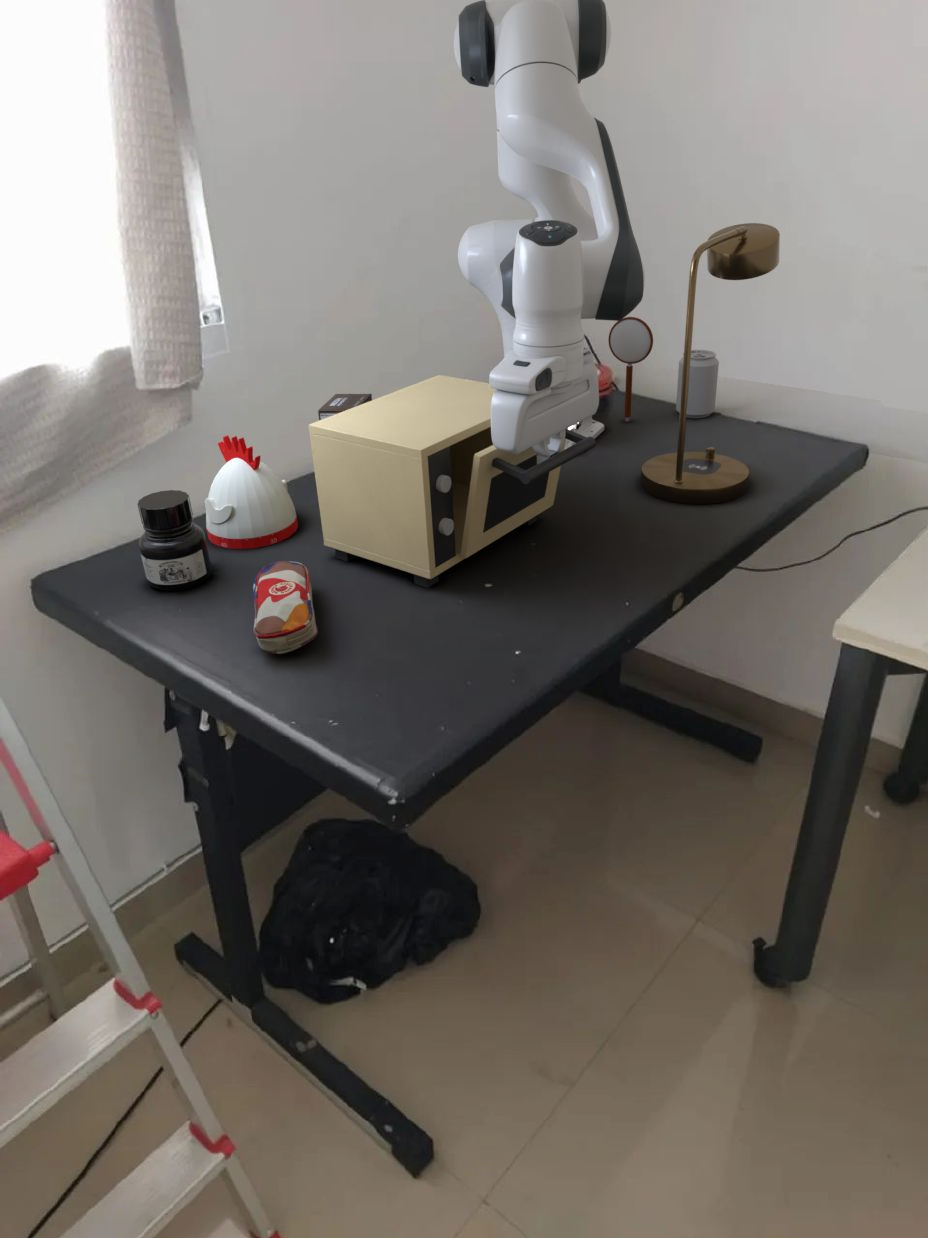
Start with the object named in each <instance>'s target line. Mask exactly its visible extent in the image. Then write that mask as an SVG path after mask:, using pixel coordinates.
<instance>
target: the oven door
mask: <svg viewBox="0 0 928 1238" xmlns="http://www.w3.org/2000/svg"><path fill="white" fill-rule="evenodd" d="M566 439H568V440H570V441H573V442H575V443H576V444H574V445H572V446H570V447H568V448H567V449H565V450H564V448H565V443H566ZM595 446H596V438H595V439H594V438H593V437H590V436H589V437H585V436H582V435H580V434H578V433H575V432H573V431H571V430H568V428H567V429H565V439H564V441H563V444H562V447H561V450H560V452H559V453H557V454H556V455H554V456H552V457H550V458H548V459H546V460H545V461H543V462H541V463H539V464H537V455H536V453H535V451H534V449H533V447H531V448H529V449H527V450H525V451H523V452H521V453H519V454H510V453H505V452H501V451H498V450H497V449H496V448H495V446H494V445H492V446H490V447H488V448H486V449H484V450H482V451H480V452H478V453H476V454H474V460H473V467H472V474H471V482H470V489H469V496H468V504H467V511H466V518H465V525H464V533H463V540H462V547H461V556H462V557H464V558H465V559H467V558H469V557H471V556H473V555H474V554H476V553H477V552H479V551H480V550H482V549H484V548H485V547H488V546H490V544H492V543H494V542H495V541H497V540H499V539H500V538H502V537H504V536H505V535H507V534H508V533H510V532H512V531H513V530H515V529H516V528H519V527H520V526H522V525H523V523H525V522H526V521H528V520H530V519H531V518H533V517H535V516H536V515H537V516H538V515H540V514H541V513H543V512H545V511H546V510H548V509H550V508H552V506H554V504H555V503H554V502H555V498H556V493H557V488H558V483H559V478H560V474H561V473H560V472H561V468H562V466H563V465H564V464H566V463H568V462H570V461H571V460H573V459H575V458H576V457H579V456H580V455H582V454H584V453H585V452H587V451H590V450H591V449H593V448H595Z"/></svg>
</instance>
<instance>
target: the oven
mask: <svg viewBox="0 0 928 1238" xmlns="http://www.w3.org/2000/svg"><path fill="white" fill-rule="evenodd" d="M496 390H497V389H494V388H491V387H490V383H489V382H484V381H479V380H473V379H472V380H471V379H466V378H461V377H460V378H459V377H453V376H448V375H443V374H437V375H435V376H433V377H430V378H427V379H425V380H422V381H419V382H416V383H414V384H411V385H408V386H406V387H403V388H400V389H398V390H395V391H392V392H390V393H388V394H385V395H383V396H379V397H378V398H375V399H372V401H369V402H367V403H364V404H361V405H359V406H356V407H354V408H351V409H348V410H346V411H343V412H341V413H338V414H335V415H333V416H330V417H327V418H325V419H322V420H320V421H319V420H317V421H315V422H312V423H310V424H308V432H309V439H310V448H311V456H312V464H313V471H314V477H315V485H316V492H317V494H316V495H317V500H318V509H319V516H320V523H321V530H322V537H323V538H322V539H323V545H324V546H325V547H329V548H331V549H334V550H335V558H336V559H340V560H341V561H345V562H350V561H352V560H353V559H355V558H357V557H360V558H362V559H366V560H369V561H372V562H375V563H378V564H380V565H381V564H382V565H384V566H388V567H391V568H394V569H396V570H400V571H403V572H407V573H409V574H412V575H413V583H414V584H415V585H418V586H421V587H424V588H427V589H428V588H430V587H431V586H433V585H436V583H438V582H439V581H440V579H439V578H440V577H439V575H440V574H442V573H443V572H445V571H447V570H448V569H450V568H452V567H454V566H455V565H457V564H458V563H460V562H462V561H463V560H465V559H466V558H464V557H462V556H461V547H462V540H463V533H464V525H465V518H466V511H467V504H468V496H469V489H470V482H471V474H472V467H473V460H474V454H476V453H478V452H480V451H482V450H484V449H486V448H488V447H490V446H492V445H493V442H492V436H491V400H492V396H493V394H494V392H495V391H496ZM537 521H538V515H536V516H535V517H533V518H531V519H530V520H528V521H526V522H525V523H523V524H522V525H524V526H527V527H529V526H531V525H532V524H534V523H535V522H537Z"/></svg>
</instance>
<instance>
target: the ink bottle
mask: <svg viewBox="0 0 928 1238" xmlns="http://www.w3.org/2000/svg"><path fill="white" fill-rule="evenodd" d="M136 504H137V509H138V513H139V518H140V521H141V525H142V528H143V530H144V533H142V535H140V539H139V541H138V546H139V550H140V551H139V552H140V557H141V561H142V565H143V566H142V567H143V571H144V574H145V577H146V579H147V582H148V584H149V586H150V587H152V588H153V589H156V590H159V591H168V592H169V591H170V592H171V591H182V590H187V589H190V588H194V587H197V586H199V585H200V584H202V583H204V582H206V581H207V580H208V578H209V577H211V574H212V563H211V559H210V555H209V550H208V545H207V539H206V535H205V534H206V533H205V532H204V529H203V528H202V527H201V526H200V525H198V524H196V523H195V522H194V514H193V509H192V508H193V507H192V504H191V499H190V495H189V494H188V493H187V492H186V491H182V490H177V489H176V490H175V489H169V490H159V491H156V492H152V493H149V494H147V495H144V496H142V497H141V498H140V499H138V502H137V503H136Z"/></svg>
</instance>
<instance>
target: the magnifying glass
mask: <svg viewBox="0 0 928 1238" xmlns="http://www.w3.org/2000/svg"><path fill="white" fill-rule="evenodd" d="M653 345H654V335H653V332H652V330H651V327H650V326H649V325H648V324H647V323H646V322H645V321H644V320H643V319H641V318H639V317H637V316H636V317H635V316H625V317H624V318H623V319H621V320H620V321H615V323H614V324H613V325H612V326H611V328H610V330H609V333H608V347H609V350H610V352H611V354H612V355H613V356H614V358H615V359H617V360H618V361H619V362H621V363H624V364H627V365H626V368H625V391H624V393H625V394H624V397H625V398H624V418H625V422H626V423H629V421H630V418H631V417H632V416H631V415H632V394H633V392H632V390H633V369H634V367H633V365H634V364H635V365H636V364H638V363H641V362H642V361H644V360H646V359H647V358H648V356H649V355H650V354H651V351H652V349H653Z"/></svg>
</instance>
